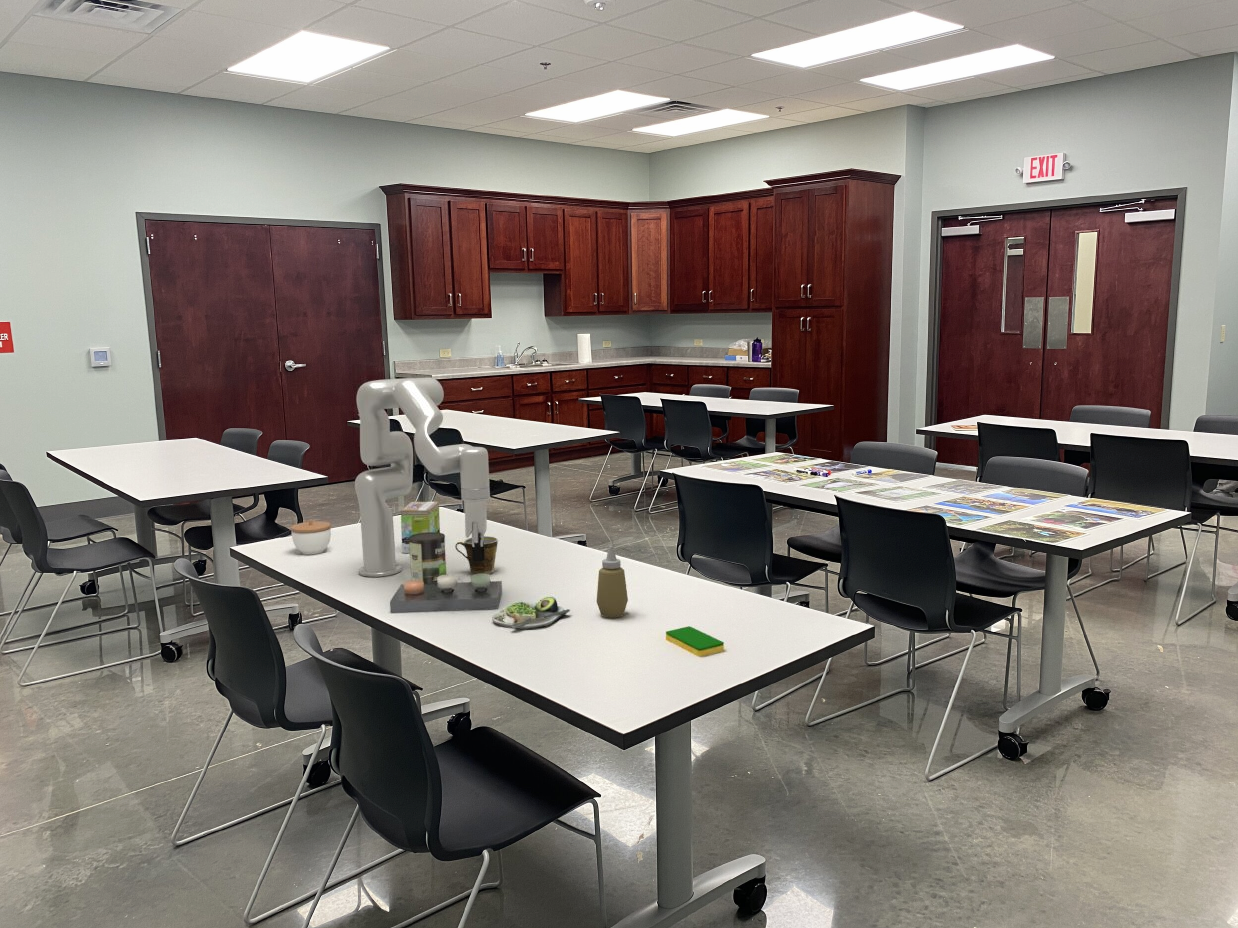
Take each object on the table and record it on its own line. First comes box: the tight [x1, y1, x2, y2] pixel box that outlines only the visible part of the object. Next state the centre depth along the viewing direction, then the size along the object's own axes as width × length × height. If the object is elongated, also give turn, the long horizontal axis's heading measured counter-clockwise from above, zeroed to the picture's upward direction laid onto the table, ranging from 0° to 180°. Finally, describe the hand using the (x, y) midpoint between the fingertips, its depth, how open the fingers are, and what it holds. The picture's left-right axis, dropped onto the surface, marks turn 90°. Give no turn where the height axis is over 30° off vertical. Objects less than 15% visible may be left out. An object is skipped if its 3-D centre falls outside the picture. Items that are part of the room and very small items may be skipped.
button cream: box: [437, 574, 458, 593], centre depth 251 cm, size 5×5×5 cm
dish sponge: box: [665, 625, 725, 658], centre depth 215 cm, size 7×14×2 cm, turn 31°
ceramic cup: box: [455, 535, 499, 575], centre depth 280 cm, size 13×10×10 cm
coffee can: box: [409, 532, 447, 584], centre depth 269 cm, size 10×10×14 cm
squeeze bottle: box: [596, 545, 629, 619], centre depth 237 cm, size 8×8×18 cm
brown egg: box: [403, 580, 424, 594], centre depth 251 cm, size 5×5×5 cm
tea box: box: [400, 501, 441, 554], centre depth 311 cm, size 15×10×15 cm
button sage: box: [470, 573, 491, 592], centre depth 252 cm, size 5×5×5 cm
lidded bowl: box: [290, 519, 332, 556], centre depth 309 cm, size 13×13×11 cm
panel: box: [389, 580, 503, 614], centre depth 252 cm, size 16×28×3 cm, turn 93°
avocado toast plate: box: [491, 596, 571, 630], centre depth 235 cm, size 19×18×5 cm
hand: (478, 560), depth 250 cm, fingers closed
